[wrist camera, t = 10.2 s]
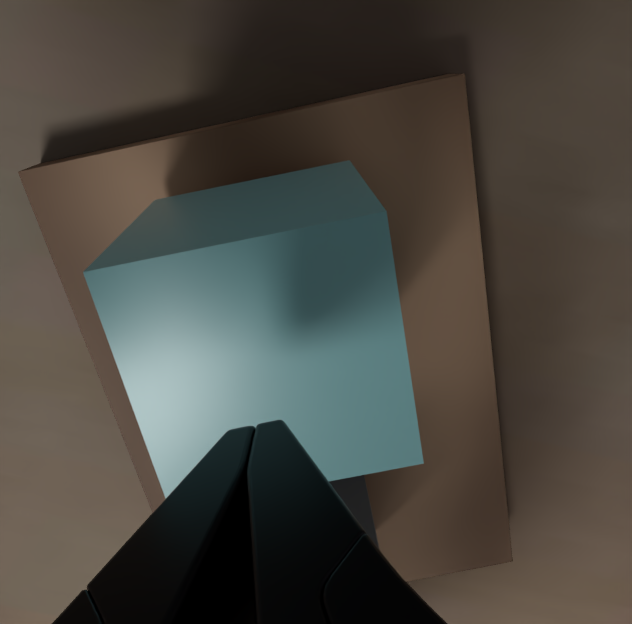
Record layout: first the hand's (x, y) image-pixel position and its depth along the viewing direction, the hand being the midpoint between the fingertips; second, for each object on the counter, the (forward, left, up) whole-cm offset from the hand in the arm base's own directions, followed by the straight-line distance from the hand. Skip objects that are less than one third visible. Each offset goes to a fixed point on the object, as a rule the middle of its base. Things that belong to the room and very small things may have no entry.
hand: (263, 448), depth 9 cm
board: (0, -4, -10) cm, 11 cm away
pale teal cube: (0, 0, -8) cm, 8 cm away
